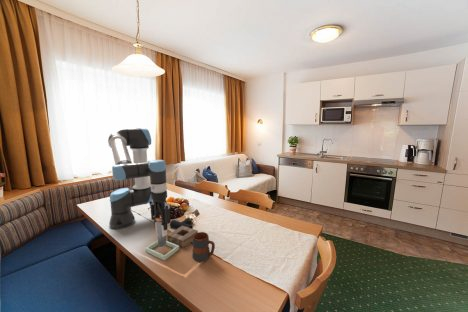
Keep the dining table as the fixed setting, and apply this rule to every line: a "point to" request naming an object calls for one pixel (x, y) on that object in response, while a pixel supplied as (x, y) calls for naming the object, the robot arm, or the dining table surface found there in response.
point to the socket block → (181, 236)
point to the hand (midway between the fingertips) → (161, 234)
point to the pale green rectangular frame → (161, 256)
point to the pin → (160, 232)
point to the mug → (202, 247)
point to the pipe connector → (182, 223)
